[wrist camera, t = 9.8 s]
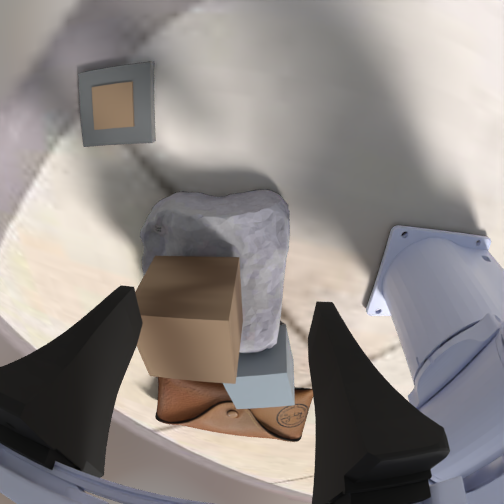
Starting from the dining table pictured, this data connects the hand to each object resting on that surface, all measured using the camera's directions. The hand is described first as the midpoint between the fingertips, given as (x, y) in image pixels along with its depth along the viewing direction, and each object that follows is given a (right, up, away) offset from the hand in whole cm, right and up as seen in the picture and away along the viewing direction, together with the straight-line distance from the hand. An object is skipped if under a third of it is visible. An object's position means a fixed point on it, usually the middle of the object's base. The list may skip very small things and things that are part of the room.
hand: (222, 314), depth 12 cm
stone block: (-1, +2, +11) cm, 11 cm away
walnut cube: (-2, 0, +7) cm, 7 cm away
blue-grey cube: (+2, -6, +15) cm, 16 cm away
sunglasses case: (-1, -14, +21) cm, 25 cm away
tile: (-7, +11, +4) cm, 14 cm away
